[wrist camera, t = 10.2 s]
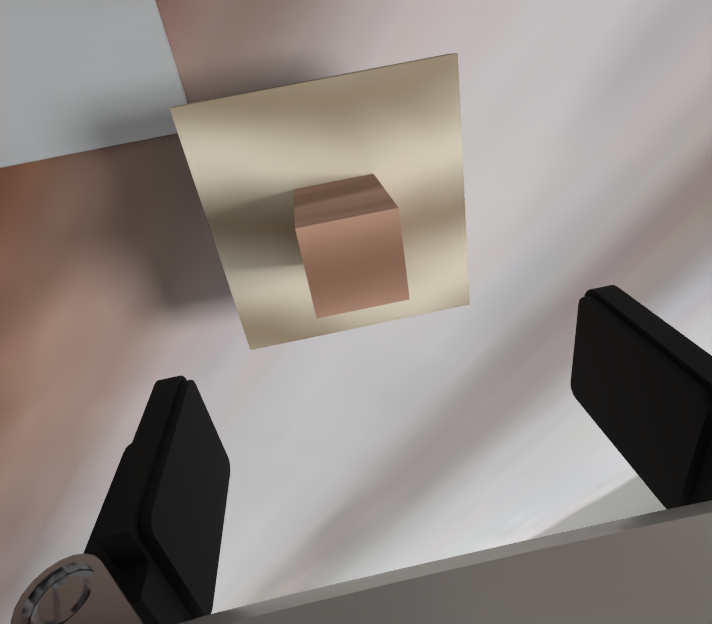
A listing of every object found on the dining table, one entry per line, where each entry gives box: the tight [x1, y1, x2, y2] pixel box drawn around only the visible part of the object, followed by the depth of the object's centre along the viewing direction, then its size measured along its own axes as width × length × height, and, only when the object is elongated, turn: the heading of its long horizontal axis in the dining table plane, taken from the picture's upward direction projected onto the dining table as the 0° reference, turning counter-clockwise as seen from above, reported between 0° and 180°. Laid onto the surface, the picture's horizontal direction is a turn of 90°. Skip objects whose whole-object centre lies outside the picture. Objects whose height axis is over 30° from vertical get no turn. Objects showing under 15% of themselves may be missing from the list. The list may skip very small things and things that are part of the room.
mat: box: [0, 0, 188, 168], centre depth 23 cm, size 14×14×1 cm
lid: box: [170, 53, 470, 350], centre depth 22 cm, size 13×13×7 cm
